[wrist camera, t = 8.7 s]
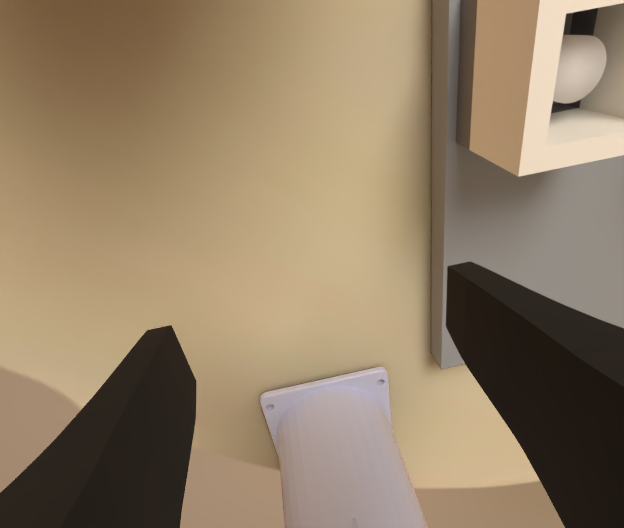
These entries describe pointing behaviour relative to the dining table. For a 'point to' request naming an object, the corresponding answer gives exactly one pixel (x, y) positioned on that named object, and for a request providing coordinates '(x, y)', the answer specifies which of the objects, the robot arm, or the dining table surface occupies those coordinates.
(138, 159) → the dining table surface
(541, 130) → the sleeve
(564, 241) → the pin board
